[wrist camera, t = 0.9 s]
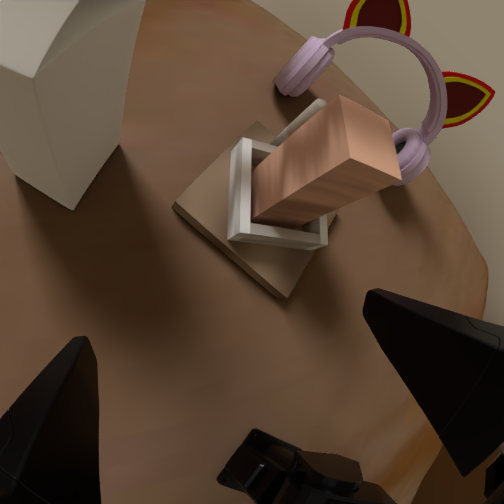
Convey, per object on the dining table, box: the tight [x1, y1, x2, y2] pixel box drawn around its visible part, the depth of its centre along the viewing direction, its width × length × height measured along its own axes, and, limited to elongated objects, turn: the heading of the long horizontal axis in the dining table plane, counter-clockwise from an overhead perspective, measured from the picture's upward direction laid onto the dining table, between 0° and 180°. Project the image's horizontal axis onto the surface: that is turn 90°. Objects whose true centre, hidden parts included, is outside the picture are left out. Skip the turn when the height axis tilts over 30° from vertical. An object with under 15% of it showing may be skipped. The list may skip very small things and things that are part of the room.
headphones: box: [272, 0, 495, 186], centre depth 25 cm, size 20×10×20 cm, turn 63°
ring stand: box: [172, 98, 339, 299], centre depth 23 cm, size 12×12×10 cm
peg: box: [250, 94, 402, 229], centre depth 20 cm, size 4×4×12 cm
